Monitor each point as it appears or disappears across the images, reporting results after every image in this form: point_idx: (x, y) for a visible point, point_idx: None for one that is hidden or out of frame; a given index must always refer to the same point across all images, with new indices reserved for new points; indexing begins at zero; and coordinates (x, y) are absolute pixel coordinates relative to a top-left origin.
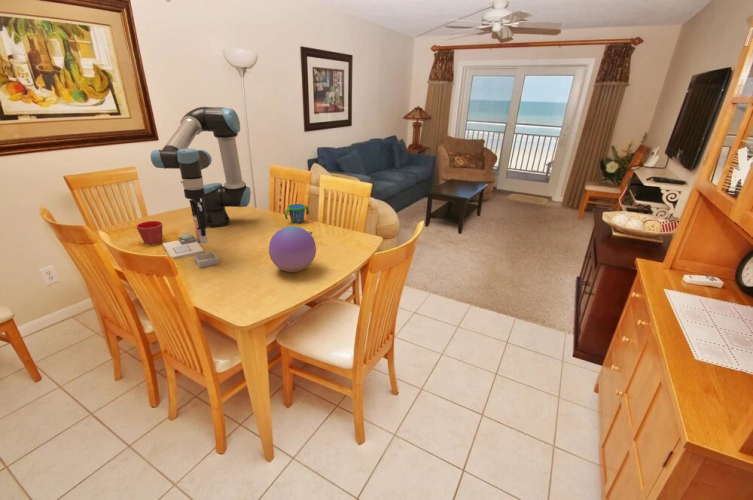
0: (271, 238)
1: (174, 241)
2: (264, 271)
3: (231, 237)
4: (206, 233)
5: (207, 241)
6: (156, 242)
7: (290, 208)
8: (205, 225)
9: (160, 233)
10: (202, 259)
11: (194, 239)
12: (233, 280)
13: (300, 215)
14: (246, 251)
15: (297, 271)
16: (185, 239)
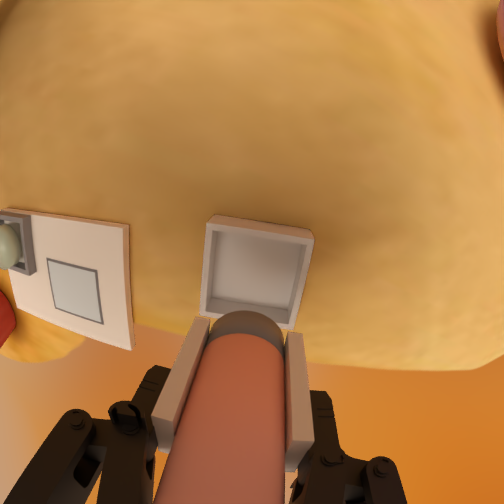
0: None
1: (11, 275)
2: (493, 136)
3: (52, 65)
4: (258, 362)
5: (302, 338)
6: (9, 313)
7: None
8: (396, 487)
9: None
10: (214, 272)
11: (21, 224)
12: (472, 259)
13: None
14: (254, 45)
15: None
16: (18, 257)
